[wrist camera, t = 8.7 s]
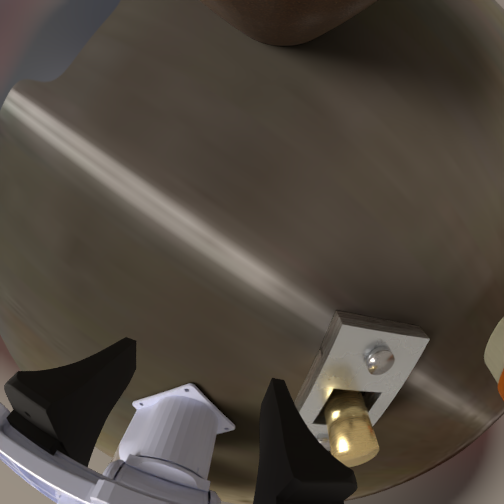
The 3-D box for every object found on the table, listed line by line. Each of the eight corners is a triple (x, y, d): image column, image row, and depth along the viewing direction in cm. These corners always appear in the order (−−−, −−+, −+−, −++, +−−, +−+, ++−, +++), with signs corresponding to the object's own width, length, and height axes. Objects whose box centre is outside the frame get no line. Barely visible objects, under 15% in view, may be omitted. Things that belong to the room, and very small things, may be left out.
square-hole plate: (347, 438, 26) (351, 458, 23) (277, 433, 26) (277, 455, 23) (418, 325, 22) (434, 344, 18) (335, 309, 22) (345, 330, 18)
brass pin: (330, 412, 25) (341, 471, 17) (315, 392, 24) (325, 456, 16) (364, 397, 24) (383, 454, 16) (352, 375, 23) (373, 437, 16)
